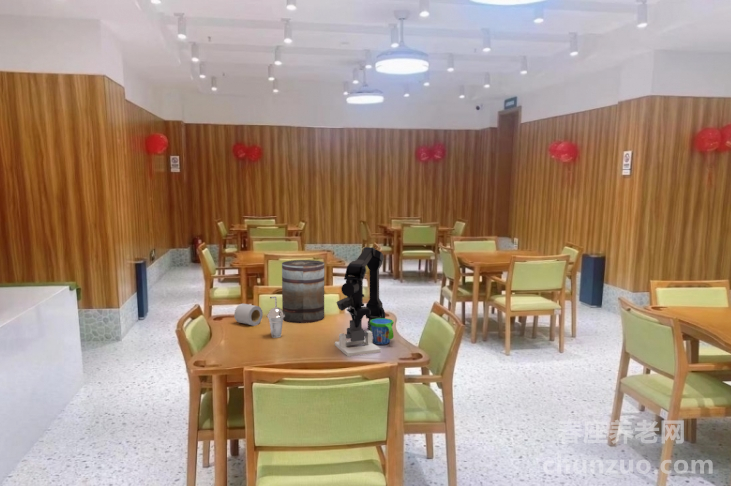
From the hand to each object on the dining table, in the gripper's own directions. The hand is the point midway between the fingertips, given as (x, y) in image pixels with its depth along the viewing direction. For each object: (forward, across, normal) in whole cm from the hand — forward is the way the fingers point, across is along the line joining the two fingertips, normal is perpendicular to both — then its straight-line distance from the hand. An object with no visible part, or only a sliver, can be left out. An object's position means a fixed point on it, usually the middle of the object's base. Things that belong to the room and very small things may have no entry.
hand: (355, 326), depth 217 cm
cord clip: (+6, 0, 0) cm, 6 cm away
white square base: (+9, +2, 0) cm, 10 cm away
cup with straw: (+10, -29, -29) cm, 42 cm away
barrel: (+10, -58, -7) cm, 59 cm away
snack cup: (+10, -2, +14) cm, 17 cm away
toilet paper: (+10, -56, -37) cm, 68 cm away
